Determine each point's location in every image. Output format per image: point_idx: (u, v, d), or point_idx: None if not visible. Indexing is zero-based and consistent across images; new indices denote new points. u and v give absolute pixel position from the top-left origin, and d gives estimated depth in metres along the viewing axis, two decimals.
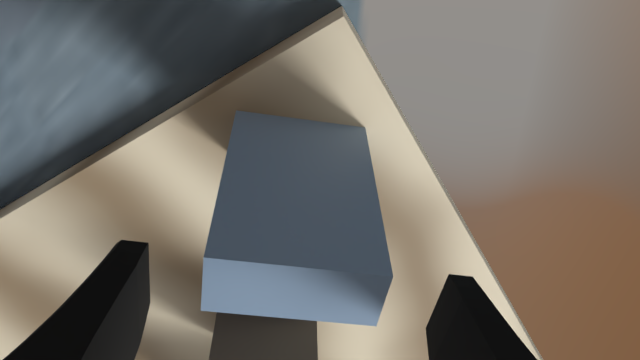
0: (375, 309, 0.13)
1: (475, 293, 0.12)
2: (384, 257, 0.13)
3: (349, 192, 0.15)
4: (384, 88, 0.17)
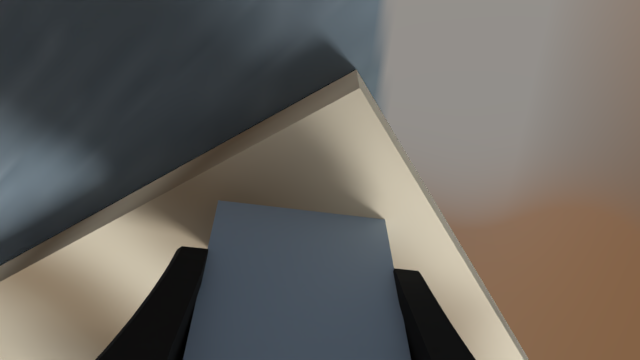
0: None
1: (417, 287, 0.12)
2: None
3: (368, 336, 0.11)
4: (411, 174, 0.13)
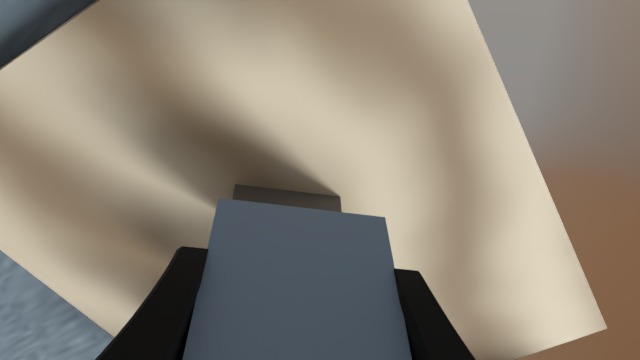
0: None
1: (418, 287, 0.12)
2: None
3: (368, 333, 0.11)
4: None
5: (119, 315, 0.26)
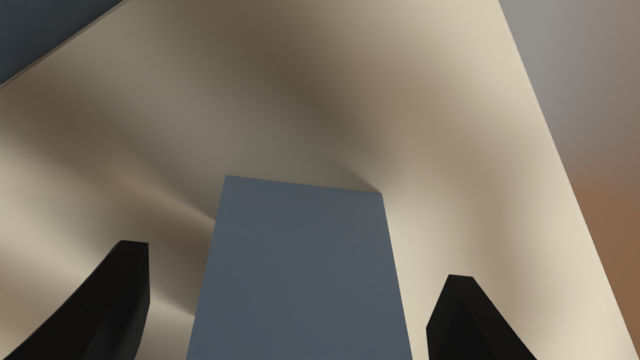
0: None
1: (475, 293, 0.12)
2: None
3: (365, 295, 0.12)
4: None
5: None
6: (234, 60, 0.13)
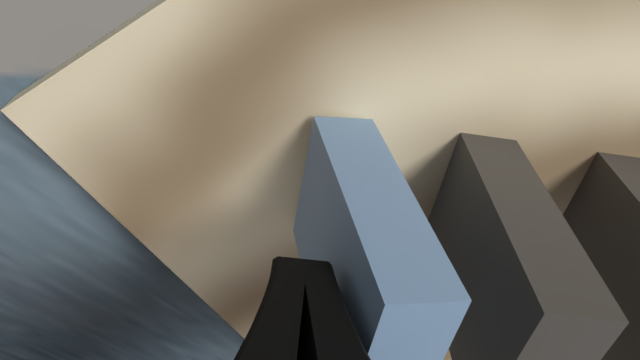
0: (440, 307, 0.10)
1: (322, 277, 0.12)
2: (374, 284, 0.10)
3: (338, 226, 0.13)
4: (71, 63, 0.15)
5: None
6: (192, 212, 0.18)
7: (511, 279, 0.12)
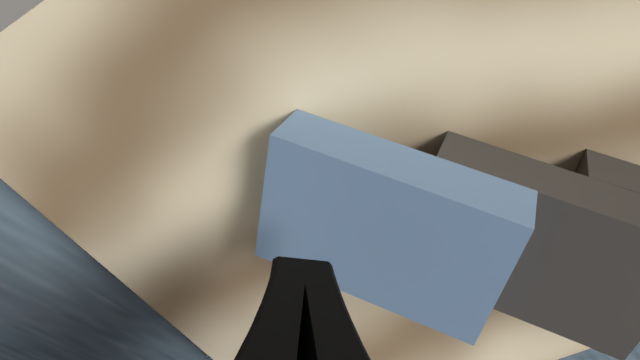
0: (534, 208, 0.14)
1: (322, 278, 0.12)
2: (506, 223, 0.13)
3: (400, 209, 0.14)
4: None
5: (535, 346, 0.22)
6: (116, 204, 0.17)
7: (637, 245, 0.14)
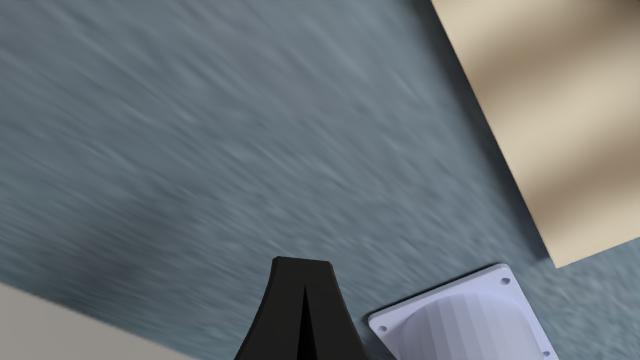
0: None
1: (322, 277, 0.12)
2: None
3: None
4: None
5: None
6: None
7: None
